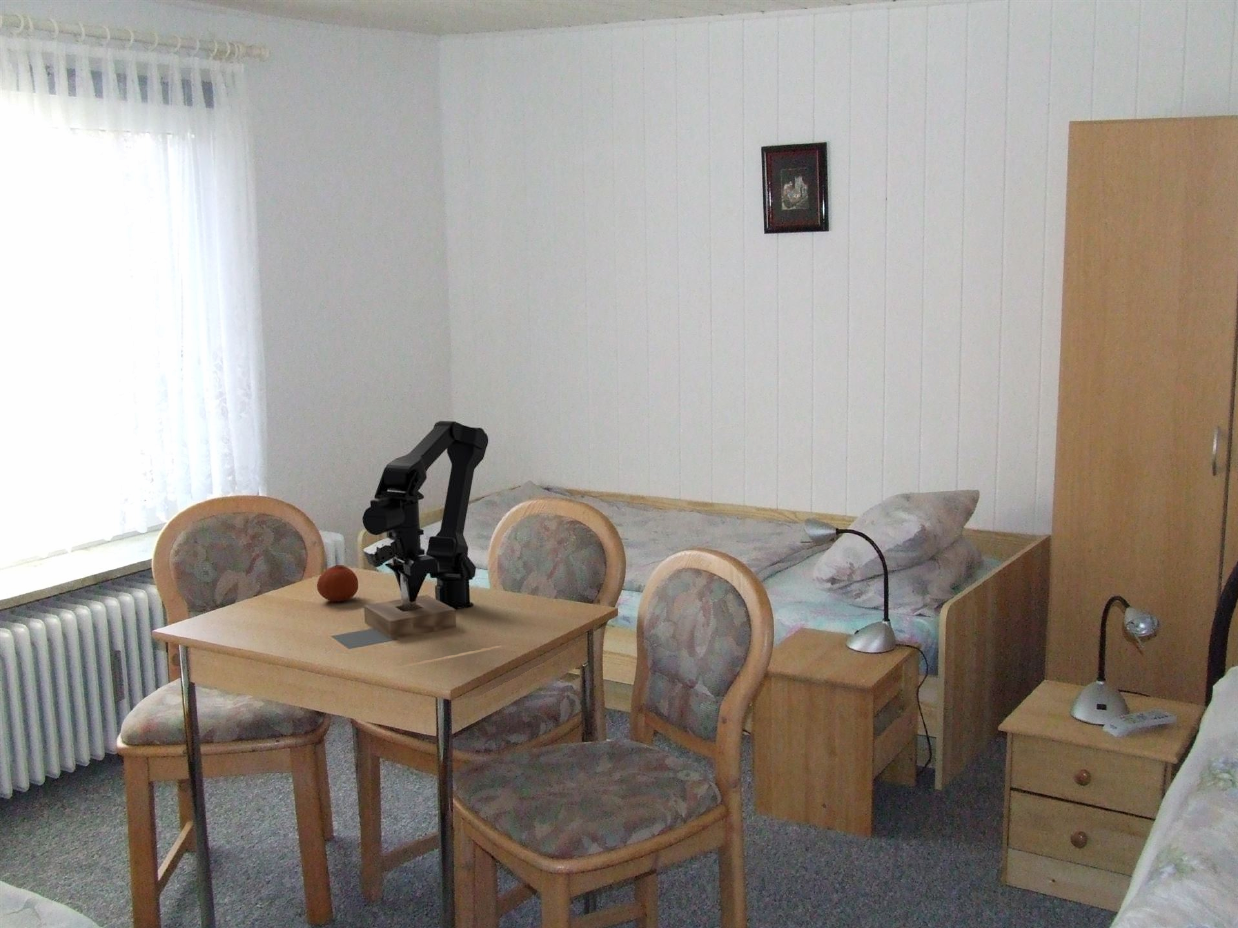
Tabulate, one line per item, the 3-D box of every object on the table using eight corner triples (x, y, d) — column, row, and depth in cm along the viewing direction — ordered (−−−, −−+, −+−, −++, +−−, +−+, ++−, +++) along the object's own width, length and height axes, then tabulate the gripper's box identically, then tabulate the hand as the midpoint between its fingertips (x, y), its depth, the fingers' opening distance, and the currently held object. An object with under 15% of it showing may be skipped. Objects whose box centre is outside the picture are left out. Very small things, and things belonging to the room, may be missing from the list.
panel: (378, 629, 253) (378, 627, 253) (397, 641, 245) (397, 639, 245) (331, 637, 248) (330, 635, 248) (349, 650, 239) (348, 648, 239)
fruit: (319, 596, 279) (317, 561, 277) (359, 594, 280) (357, 559, 279) (316, 607, 270) (314, 571, 269) (358, 604, 272) (356, 568, 270)
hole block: (427, 612, 264) (426, 594, 263) (456, 628, 252) (455, 609, 252) (364, 624, 257) (363, 605, 256) (391, 640, 245) (390, 621, 244)
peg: (413, 615, 256) (411, 568, 255) (419, 619, 254) (417, 571, 252) (400, 618, 255) (397, 570, 253) (405, 621, 252) (403, 573, 251)
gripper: (350, 522, 255) (354, 596, 257) (385, 538, 239) (389, 617, 242) (401, 515, 260) (405, 587, 263) (438, 530, 245) (442, 607, 247)
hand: (409, 599), depth 254 cm, fingers closed on peg, 3 cm apart
